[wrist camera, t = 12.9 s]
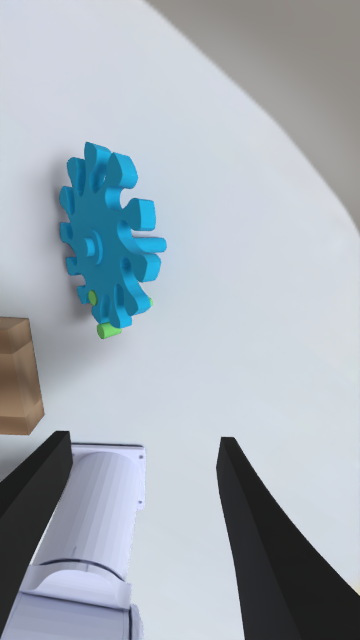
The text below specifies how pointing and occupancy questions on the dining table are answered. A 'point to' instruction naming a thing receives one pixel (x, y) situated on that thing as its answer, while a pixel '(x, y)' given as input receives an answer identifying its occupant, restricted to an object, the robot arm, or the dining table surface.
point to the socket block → (18, 379)
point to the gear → (109, 237)
